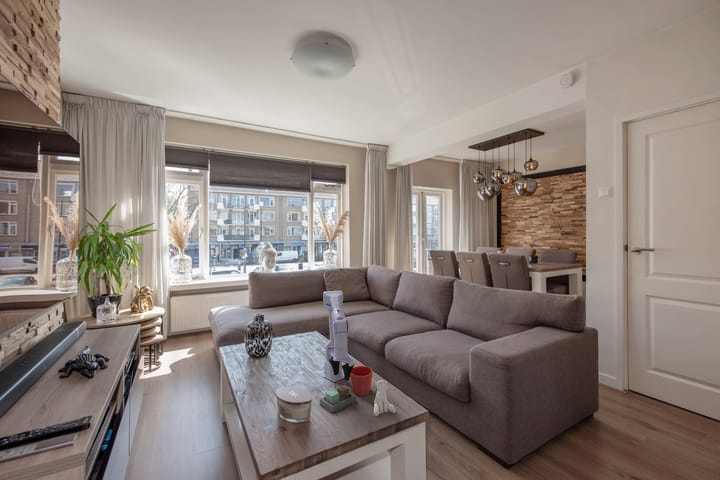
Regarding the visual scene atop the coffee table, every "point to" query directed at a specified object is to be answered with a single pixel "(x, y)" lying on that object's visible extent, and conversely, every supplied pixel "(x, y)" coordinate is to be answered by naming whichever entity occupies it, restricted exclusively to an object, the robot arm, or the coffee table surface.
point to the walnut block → (343, 392)
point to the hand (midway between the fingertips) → (341, 377)
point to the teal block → (332, 397)
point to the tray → (339, 405)
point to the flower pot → (361, 380)
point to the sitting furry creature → (382, 399)
